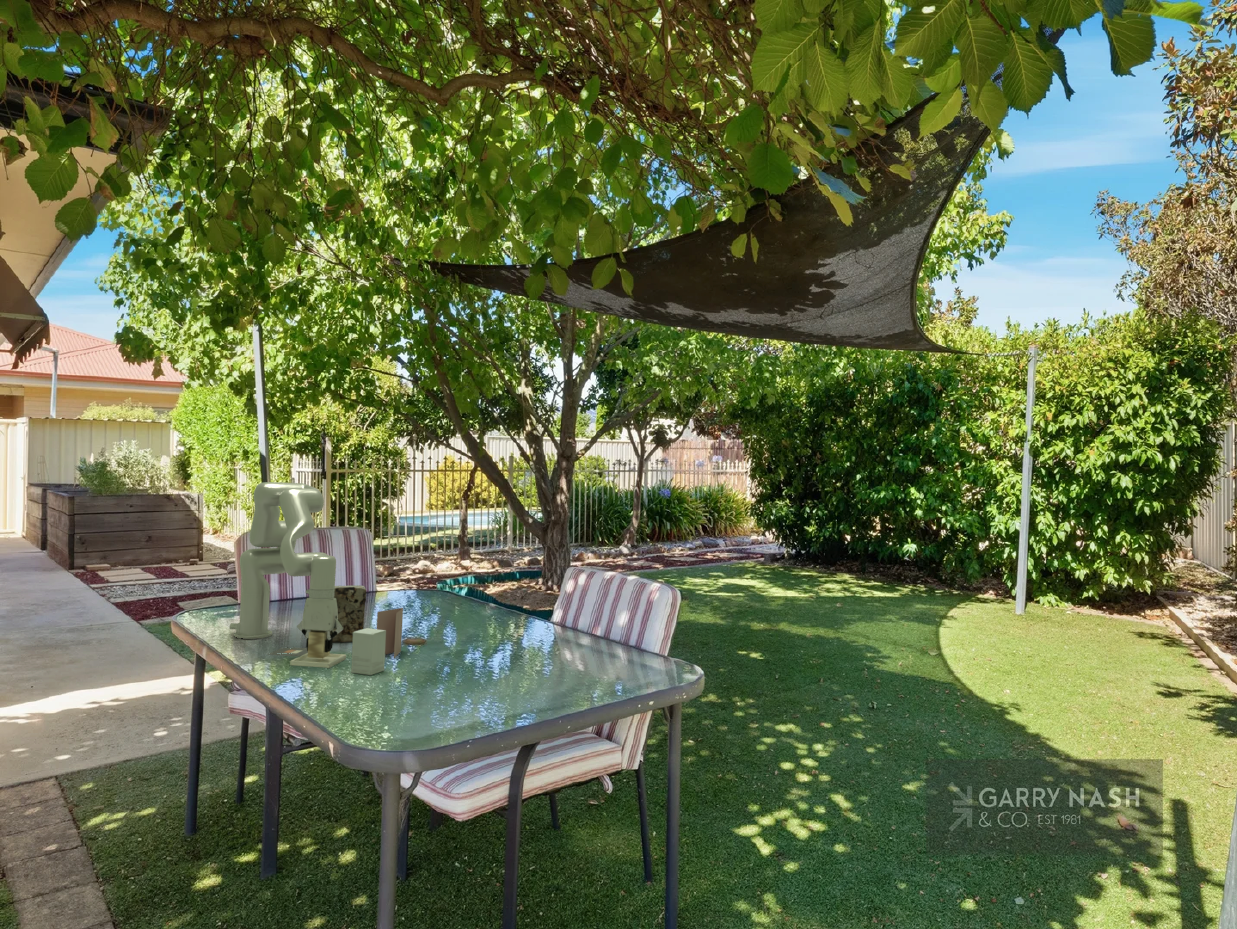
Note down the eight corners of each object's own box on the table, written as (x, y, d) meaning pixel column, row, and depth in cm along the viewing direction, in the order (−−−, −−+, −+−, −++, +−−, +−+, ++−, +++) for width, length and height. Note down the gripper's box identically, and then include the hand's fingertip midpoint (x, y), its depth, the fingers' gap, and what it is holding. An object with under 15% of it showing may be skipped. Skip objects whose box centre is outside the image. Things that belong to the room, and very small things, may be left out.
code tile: (266, 655, 259) (266, 654, 259) (284, 647, 271) (284, 646, 271) (301, 657, 258) (301, 656, 258) (318, 649, 270) (318, 648, 270)
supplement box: (385, 670, 247) (387, 630, 247) (370, 675, 240) (372, 634, 240) (365, 667, 249) (367, 627, 249) (350, 672, 242) (352, 631, 242)
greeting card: (399, 650, 274) (401, 607, 274) (414, 653, 270) (416, 610, 271) (373, 656, 264) (375, 611, 265) (389, 659, 260) (391, 614, 261)
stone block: (361, 638, 290) (364, 584, 291) (364, 642, 284) (367, 587, 284) (323, 640, 284) (326, 585, 284) (326, 644, 278) (329, 587, 278)
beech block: (307, 657, 251) (308, 632, 251) (314, 653, 256) (316, 629, 256) (322, 658, 250) (324, 633, 250) (329, 654, 255) (331, 630, 255)
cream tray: (289, 665, 247) (290, 660, 247) (308, 656, 260) (308, 652, 260) (329, 668, 246) (329, 663, 246) (345, 659, 259) (346, 654, 259)
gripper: (290, 594, 250) (287, 651, 250) (342, 597, 249) (339, 655, 248) (301, 590, 258) (298, 646, 257) (352, 594, 256) (349, 650, 256)
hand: (319, 650), depth 253 cm, fingers open, 5 cm apart
